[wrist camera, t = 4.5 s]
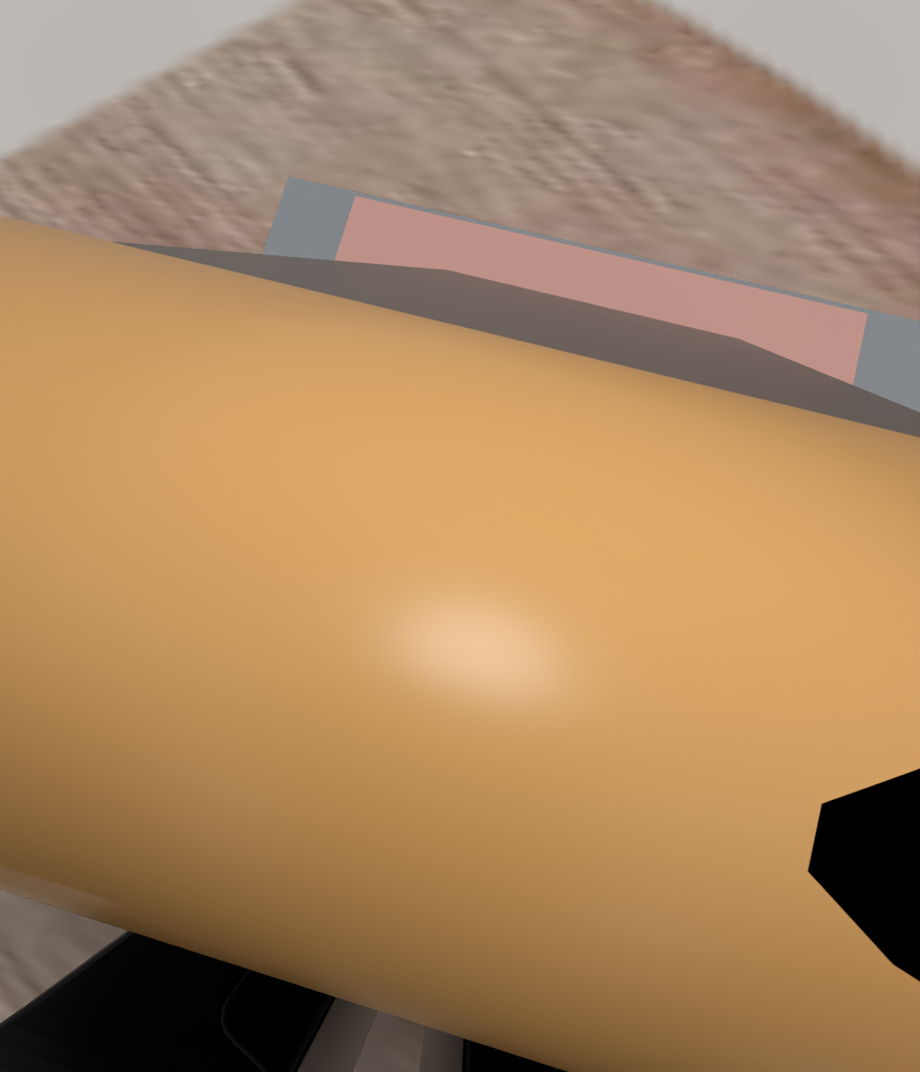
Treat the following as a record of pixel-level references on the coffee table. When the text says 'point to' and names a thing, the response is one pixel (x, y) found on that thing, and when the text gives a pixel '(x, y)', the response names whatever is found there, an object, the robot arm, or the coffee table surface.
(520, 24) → the coffee table surface
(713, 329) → the block
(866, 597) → the lever
